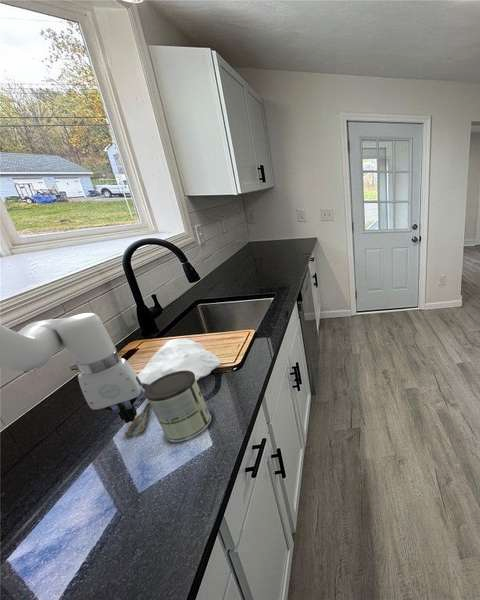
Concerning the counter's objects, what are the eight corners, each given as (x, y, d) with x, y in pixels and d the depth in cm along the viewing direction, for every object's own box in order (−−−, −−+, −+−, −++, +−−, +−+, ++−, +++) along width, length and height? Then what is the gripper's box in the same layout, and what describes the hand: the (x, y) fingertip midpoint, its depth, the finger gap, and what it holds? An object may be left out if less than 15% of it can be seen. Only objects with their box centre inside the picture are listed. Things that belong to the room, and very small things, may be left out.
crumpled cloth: (132, 419, 83) (124, 390, 80) (133, 363, 109) (128, 339, 106) (230, 391, 97) (226, 365, 94) (211, 347, 123) (207, 325, 120)
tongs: (155, 403, 91) (153, 397, 91) (145, 434, 81) (142, 429, 80) (138, 408, 90) (135, 402, 89) (125, 441, 79) (122, 435, 78)
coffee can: (159, 431, 81) (137, 387, 75) (201, 407, 88) (184, 365, 82) (175, 449, 75) (153, 403, 69) (218, 422, 82) (201, 378, 77)
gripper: (52, 381, 71) (91, 441, 78) (134, 359, 77) (162, 416, 84) (65, 365, 77) (100, 421, 84) (140, 346, 83) (165, 400, 90)
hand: (131, 419), depth 84 cm, fingers closed
